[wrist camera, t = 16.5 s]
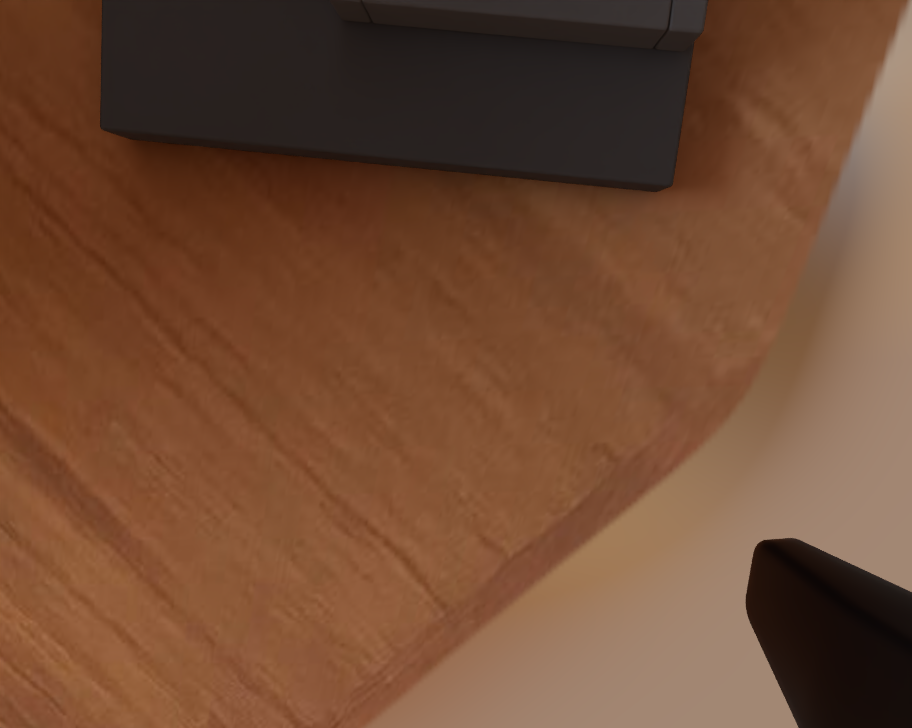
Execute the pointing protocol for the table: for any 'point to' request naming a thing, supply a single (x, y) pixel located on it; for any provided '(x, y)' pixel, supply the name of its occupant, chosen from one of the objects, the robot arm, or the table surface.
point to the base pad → (411, 82)
